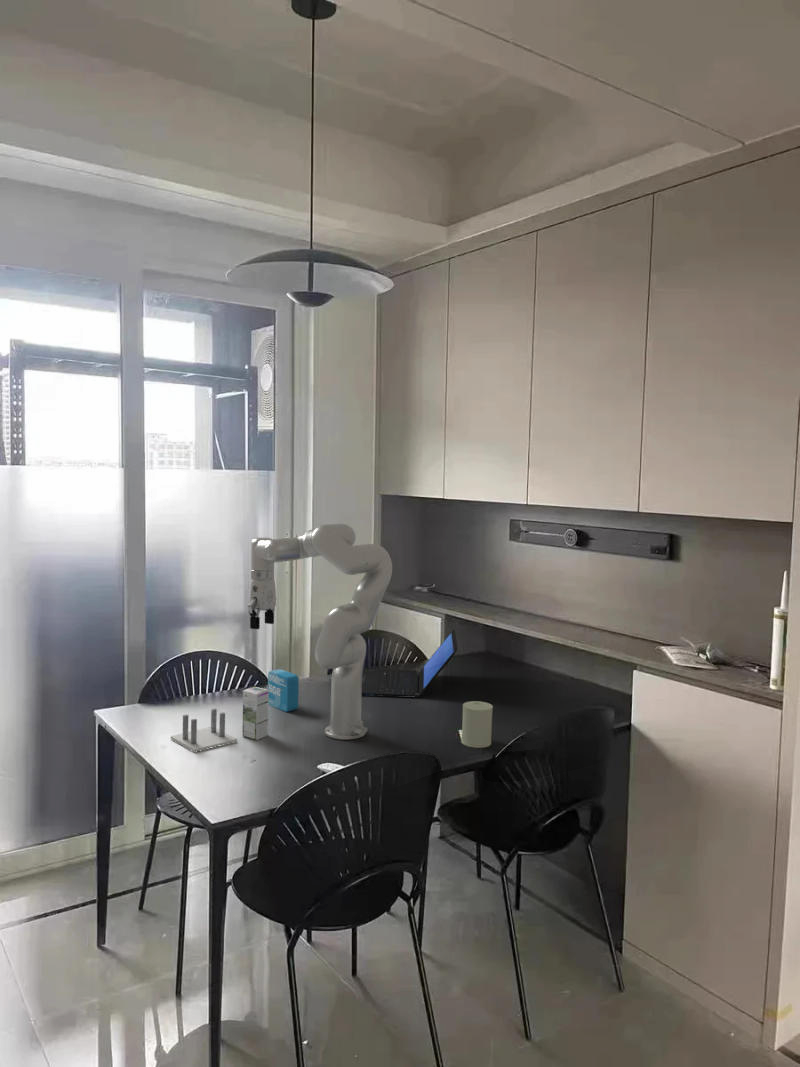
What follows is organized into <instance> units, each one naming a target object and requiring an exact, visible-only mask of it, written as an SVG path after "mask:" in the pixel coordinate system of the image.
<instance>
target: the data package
mask: <svg viewBox="0 0 800 1067" xmlns="http://www.w3.org/2000/svg"><path fill="white" fill-rule="evenodd" d="M299 683H300V679H299V676H298V675H297V674H295V673H293V672H291V671H290V672H289V671H287V670H284V669H281V668H278V669H273V670H270V671H268V673H267V689H268V690H269V701H268V706H271V707H273V708H275V707H276V708H275V709H277V708H278V710H280V711H282V710H283V711H282V712H284V711H285V712H284V713H288V712H291V711H296V710H298V708H299V689H300V687H299V685H300V684H299Z"/></svg>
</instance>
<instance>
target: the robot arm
mask: <svg viewBox="0 0 800 1067" xmlns="http://www.w3.org/2000/svg"><path fill="white" fill-rule="evenodd" d="M355 542H356V533H355V530H354V529H353V528H352V527H351V526H350V525H348V524H345V523H333V524H332V523H331V524H322V525H320V526H317V527H316V528H315V529H309V530H307V531H306V532H305V533H304V534H303V535H301V536H297V537H296V536H295V537H284V538H272V537H271V538H270V537H254V538H253V539H251V543H250V544H251V547H250V548H251V550H250V553H251V554H250V555H251V556H250V558H251V559H250V563H251V564H250V566H251V567H250V579H251V584H250V592H249V603H248V604H247V609H248V614H249V621H250V622H249V628H250V629H251V630H260V626H261V625H260V623H261V622H260V620H261V617H260V613H261V611H262V612H263V611H264V624H268V625H273V624H275V607H276V605H277V592H276V589H277V588H276V583H275V582H276V581H275V563H283V562H290V561H297V560H303V559H307V558H316V557H320V556H321V557H322V558H324V559H325V560H326V561H327V562H329V563H330V564H331V565H332V566H333V567H335V568H336V569H337V570H338V571H340V572H341V573H343V574H345V575H350V576H354V575H361V574H364V575H363V577H362V578H361V580H360V581H359V583H358V584H357V585H356V586H355V590H354V593H353V594H352V595H353V596H352V598H351V599H350V601H349V602H348V603H346V604H343V605H338V606H336V607H334V608H332V609H331V610H330V612H329V613H328V614H327V616H326V617H325V620H324V622H323V626H322V628H321V631H320V633H319V636H318V638H317V641H316V645H315V650H314V655H315V656H314V657H315V660H316V662H317V664H318V665H319V666H320V667H321V668H322V669H326V670H331V669H332V673H331V678H330V679H331V680H330V713H329V714H330V716H329V718H330V719H329V725H328V726H326V727H325V728H324V734H325V735H326V737H328V738H331V739H336V740H343V741H345V740H346V741H347V740H355V739H359V738H362V737H364V736H366V733H367V732H368V728H367V727H365V726H364V721H363V720H362V700H363V699H362V697H363V696H362V675H363V669H364V666H365V660H366V655H367V642H366V640H365V639H364V637H363V636H362V634H363V633H366V632H368V631H369V630H370V629H371V628H372V625H373V624H374V620H375V618H376V616H377V612H378V611H379V608H380V605H381V602H382V599H383V598H384V595H385V592H386V591H387V588H388V586H389V584H390V581H391V578H392V573H393V562H392V559H391V557H390V554H389V552H388V551H387V550H386V549H385V548H384V547H383V546H381V545H379V544H377V543H376V544H375V543H366V544H364V543H363V544H357V545H356V544H355ZM354 544H355V545H354Z"/></svg>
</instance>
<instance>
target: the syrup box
mask: <svg viewBox="0 0 800 1067" xmlns="http://www.w3.org/2000/svg"><path fill="white" fill-rule="evenodd" d="M268 701H269V690H268V688H267V689H266V688H261V687H257V686H252V687H249V688H246V689H244V690H242V737H243V736H244V738H247V739H250V738H251V740H254V739H255V740H256V741H257V740H258V741H259V740H260V738H261V739H263V738H266V737H268V736H267V735H269V703H268ZM262 737H263V738H262Z"/></svg>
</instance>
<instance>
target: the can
mask: <svg viewBox="0 0 800 1067" xmlns="http://www.w3.org/2000/svg"><path fill="white" fill-rule="evenodd" d="M493 708H494V706H493V704H490V703H489V702H486V701H485V702H484V701H479V700H478V701H477V700H476V701H475V700H473V701H466V702H464V703H463V704H462V725H461V726H462V727H461V740H460V743H461V744H462V745H464V746H465V747H469V748H475V749H482V748H487V747H490V746H491V745H492V724H493V723H492V722H493Z"/></svg>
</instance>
